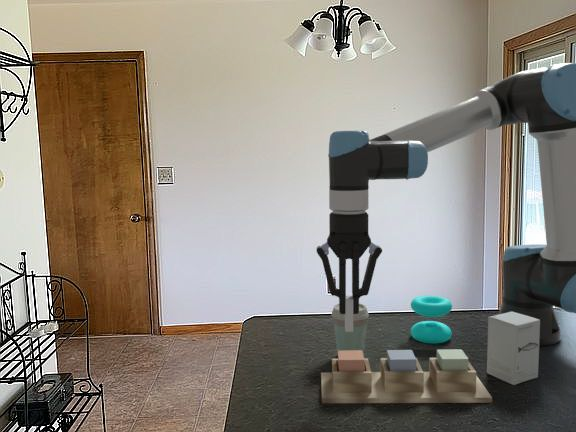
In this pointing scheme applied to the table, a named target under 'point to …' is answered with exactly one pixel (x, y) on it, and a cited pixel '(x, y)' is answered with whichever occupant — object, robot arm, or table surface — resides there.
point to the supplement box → (513, 347)
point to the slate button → (401, 360)
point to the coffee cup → (350, 339)
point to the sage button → (452, 360)
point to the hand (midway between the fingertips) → (349, 329)
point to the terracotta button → (351, 361)
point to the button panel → (403, 385)
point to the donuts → (431, 329)
